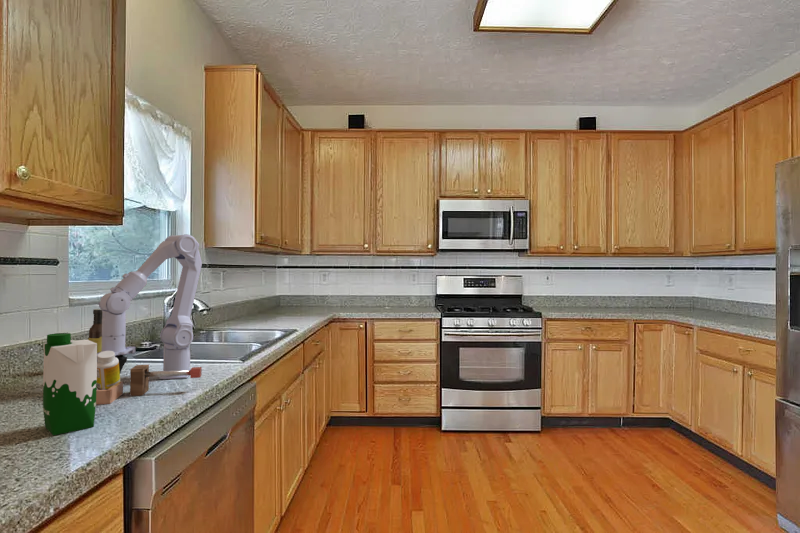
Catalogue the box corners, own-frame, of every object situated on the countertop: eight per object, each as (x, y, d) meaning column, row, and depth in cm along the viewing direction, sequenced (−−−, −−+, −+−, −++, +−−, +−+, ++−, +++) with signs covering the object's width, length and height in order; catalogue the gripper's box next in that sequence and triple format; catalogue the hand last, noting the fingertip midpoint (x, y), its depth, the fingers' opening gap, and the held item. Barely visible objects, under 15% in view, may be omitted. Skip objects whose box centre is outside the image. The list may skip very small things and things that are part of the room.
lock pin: (136, 378, 125) (136, 369, 125) (201, 375, 128) (201, 367, 128) (133, 380, 122) (134, 371, 122) (199, 377, 126) (199, 368, 126)
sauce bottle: (106, 371, 147) (107, 309, 147) (84, 372, 146) (85, 310, 146) (113, 367, 153) (114, 308, 153) (92, 368, 152) (93, 308, 152)
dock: (80, 395, 120) (80, 383, 120) (122, 393, 123) (123, 381, 123) (64, 406, 112) (64, 392, 112) (110, 403, 114) (110, 390, 114)
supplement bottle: (124, 382, 129) (122, 350, 126) (113, 393, 123) (110, 360, 120) (104, 380, 128) (101, 348, 125) (92, 391, 123) (88, 358, 120)
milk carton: (38, 427, 97) (40, 333, 97) (88, 417, 104) (90, 329, 104) (48, 438, 91) (49, 337, 91) (100, 426, 98) (102, 333, 98)
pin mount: (136, 390, 126) (136, 364, 126) (148, 390, 127) (148, 364, 127) (130, 396, 121) (130, 369, 121) (142, 395, 122) (142, 368, 122)
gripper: (105, 339, 121) (105, 391, 121) (144, 332, 136) (144, 378, 136) (82, 338, 123) (81, 389, 123) (123, 331, 137) (122, 376, 137)
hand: (113, 383), depth 129 cm, fingers closed
